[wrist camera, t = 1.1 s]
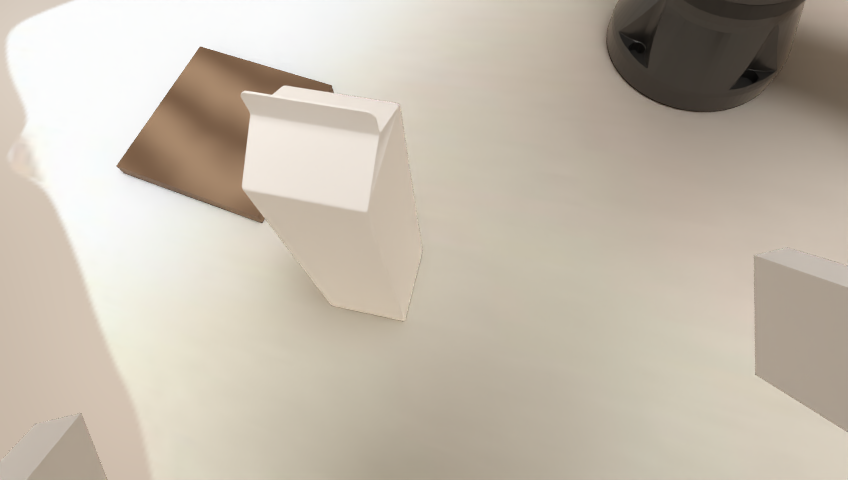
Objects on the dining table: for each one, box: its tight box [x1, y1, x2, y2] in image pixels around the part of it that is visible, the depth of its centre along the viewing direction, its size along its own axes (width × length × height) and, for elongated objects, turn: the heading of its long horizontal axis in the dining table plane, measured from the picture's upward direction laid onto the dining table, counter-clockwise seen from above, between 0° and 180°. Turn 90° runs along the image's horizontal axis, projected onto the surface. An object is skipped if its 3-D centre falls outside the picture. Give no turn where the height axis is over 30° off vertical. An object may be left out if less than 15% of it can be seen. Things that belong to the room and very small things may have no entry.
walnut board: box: [117, 47, 334, 223], centre depth 48 cm, size 14×14×1 cm
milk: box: [241, 86, 423, 321], centre depth 32 cm, size 6×6×22 cm
